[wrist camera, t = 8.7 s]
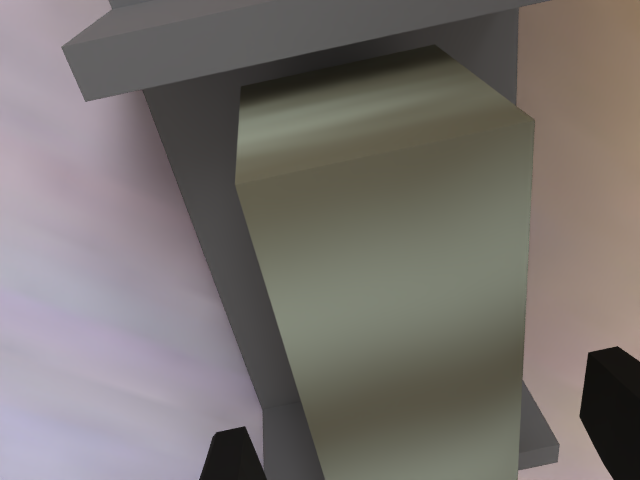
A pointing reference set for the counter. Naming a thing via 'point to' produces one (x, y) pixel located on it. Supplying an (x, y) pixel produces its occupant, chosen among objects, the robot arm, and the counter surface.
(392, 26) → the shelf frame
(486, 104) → the olive green rectangular block
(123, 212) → the counter surface
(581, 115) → the counter surface
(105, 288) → the counter surface
